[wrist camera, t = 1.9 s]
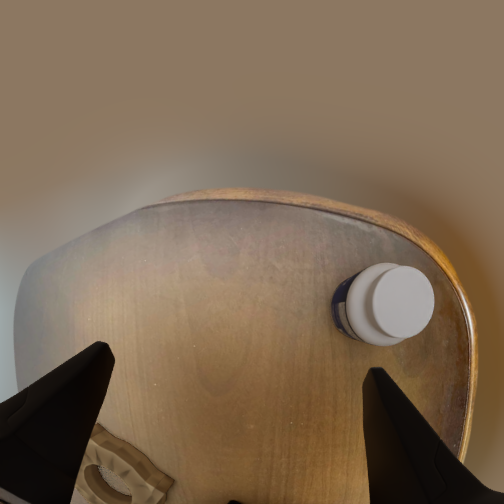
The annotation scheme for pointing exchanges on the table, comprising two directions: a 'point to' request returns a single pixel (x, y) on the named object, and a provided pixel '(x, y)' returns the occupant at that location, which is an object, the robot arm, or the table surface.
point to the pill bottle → (383, 304)
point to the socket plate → (119, 472)
